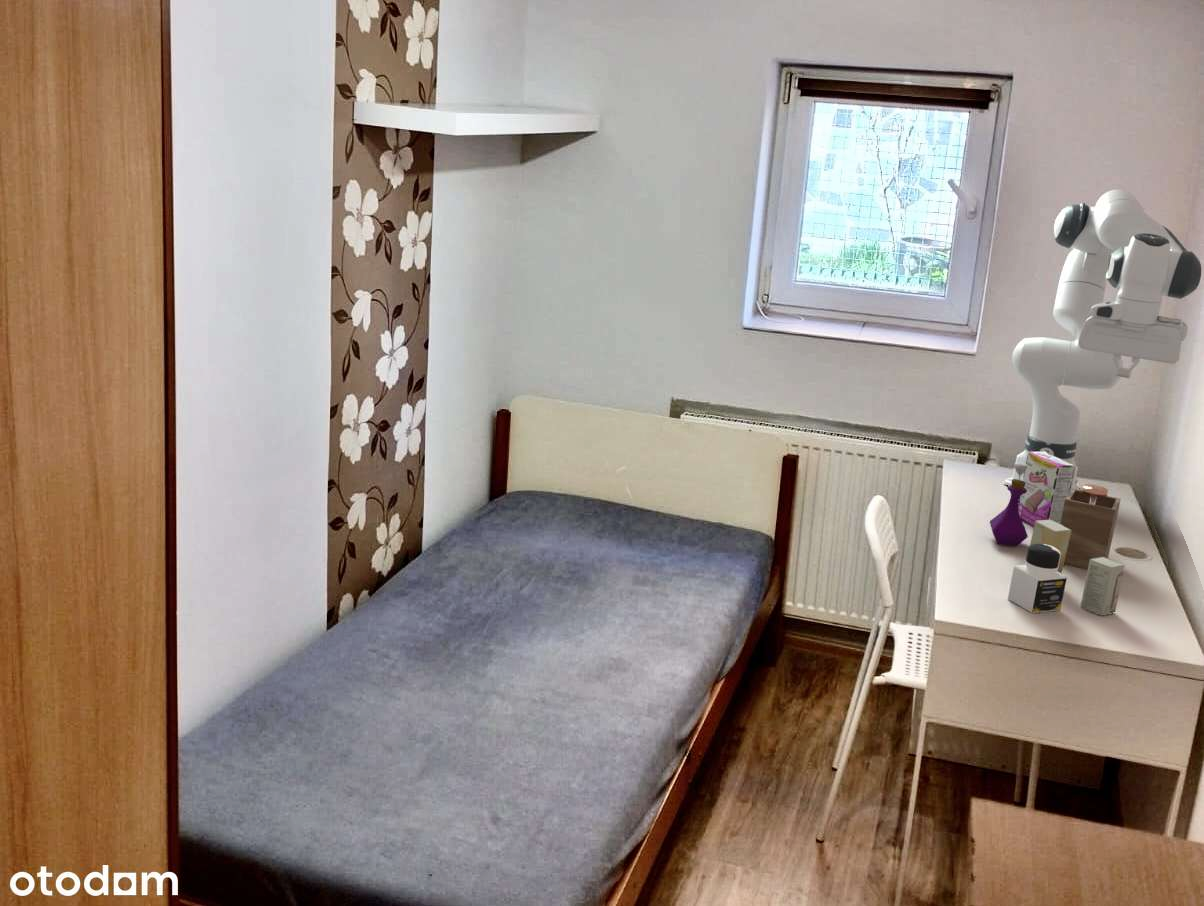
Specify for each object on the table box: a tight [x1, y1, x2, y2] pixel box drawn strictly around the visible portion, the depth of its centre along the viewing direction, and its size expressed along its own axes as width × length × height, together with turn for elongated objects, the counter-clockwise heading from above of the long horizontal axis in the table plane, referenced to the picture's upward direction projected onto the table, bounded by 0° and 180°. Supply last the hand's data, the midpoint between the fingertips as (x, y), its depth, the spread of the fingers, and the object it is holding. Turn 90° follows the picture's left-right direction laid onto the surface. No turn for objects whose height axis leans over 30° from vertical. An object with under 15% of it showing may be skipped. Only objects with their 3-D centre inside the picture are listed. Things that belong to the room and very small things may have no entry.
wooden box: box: [1060, 489, 1122, 571], centre depth 268 cm, size 10×10×14 cm
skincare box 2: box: [1080, 557, 1125, 616], centre depth 242 cm, size 5×4×10 cm
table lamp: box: [1081, 483, 1109, 505], centre depth 267 cm, size 8×8×13 cm
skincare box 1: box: [1029, 520, 1071, 574], centre depth 254 cm, size 6×4×12 cm
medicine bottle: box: [1007, 544, 1068, 614], centre depth 241 cm, size 7×7×12 cm
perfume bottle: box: [989, 463, 1029, 548], centre depth 275 cm, size 8×8×18 cm
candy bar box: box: [1018, 451, 1075, 528], centre depth 289 cm, size 11×5×16 cm, turn 20°
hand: (1122, 376), depth 268 cm, fingers closed
